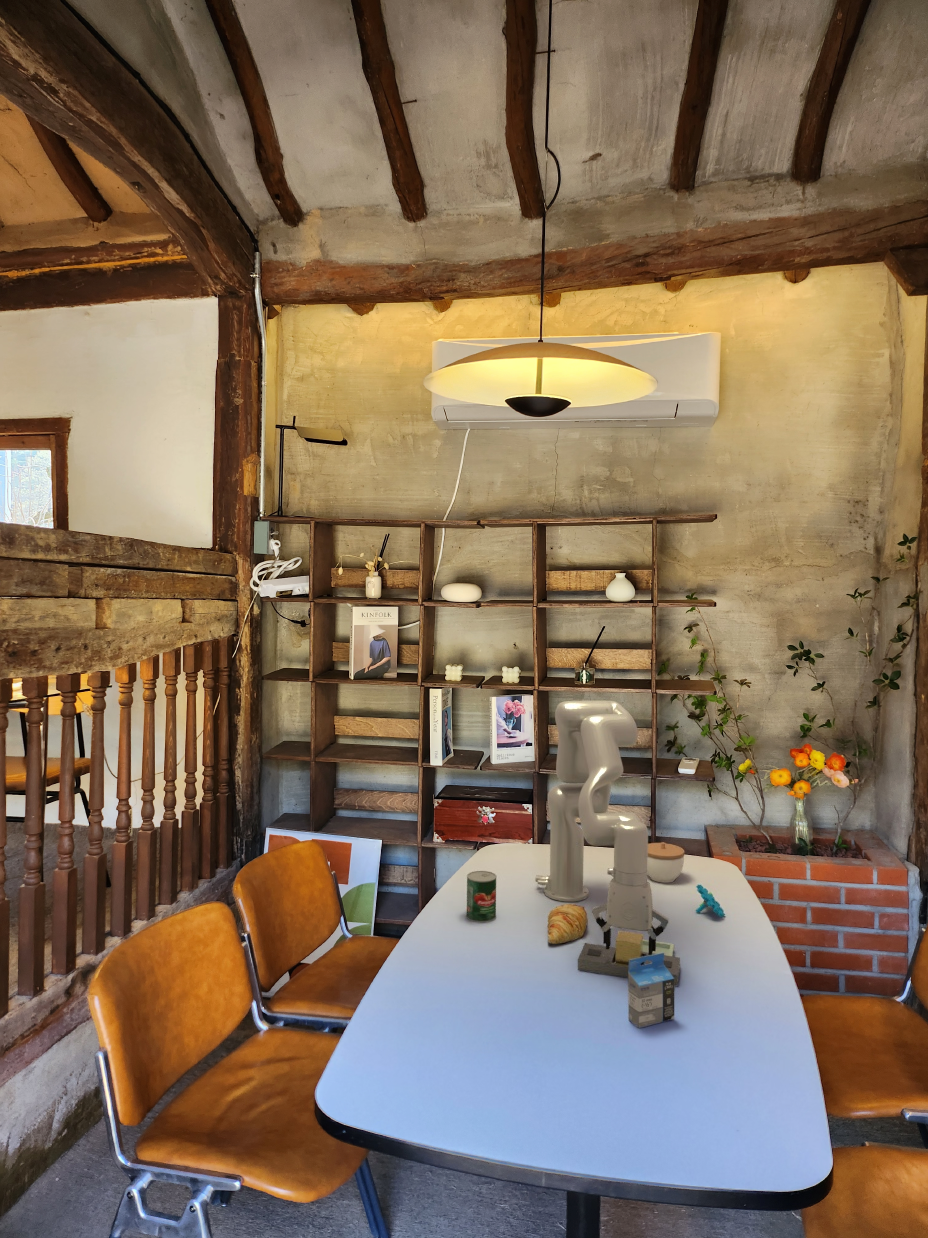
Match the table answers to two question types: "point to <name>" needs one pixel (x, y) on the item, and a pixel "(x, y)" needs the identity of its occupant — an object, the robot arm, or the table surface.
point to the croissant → (566, 923)
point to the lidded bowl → (664, 862)
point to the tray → (659, 948)
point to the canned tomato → (481, 896)
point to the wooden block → (628, 947)
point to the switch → (604, 963)
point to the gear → (709, 901)
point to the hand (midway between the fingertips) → (629, 950)
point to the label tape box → (650, 991)
